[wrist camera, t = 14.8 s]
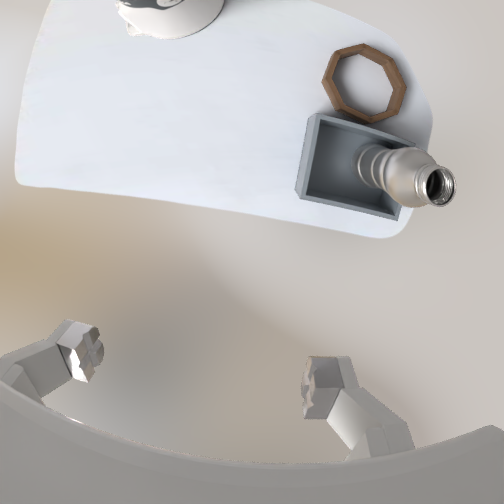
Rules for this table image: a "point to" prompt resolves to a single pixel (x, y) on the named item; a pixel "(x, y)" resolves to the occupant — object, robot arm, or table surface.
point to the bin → (342, 166)
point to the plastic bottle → (404, 175)
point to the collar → (389, 69)
